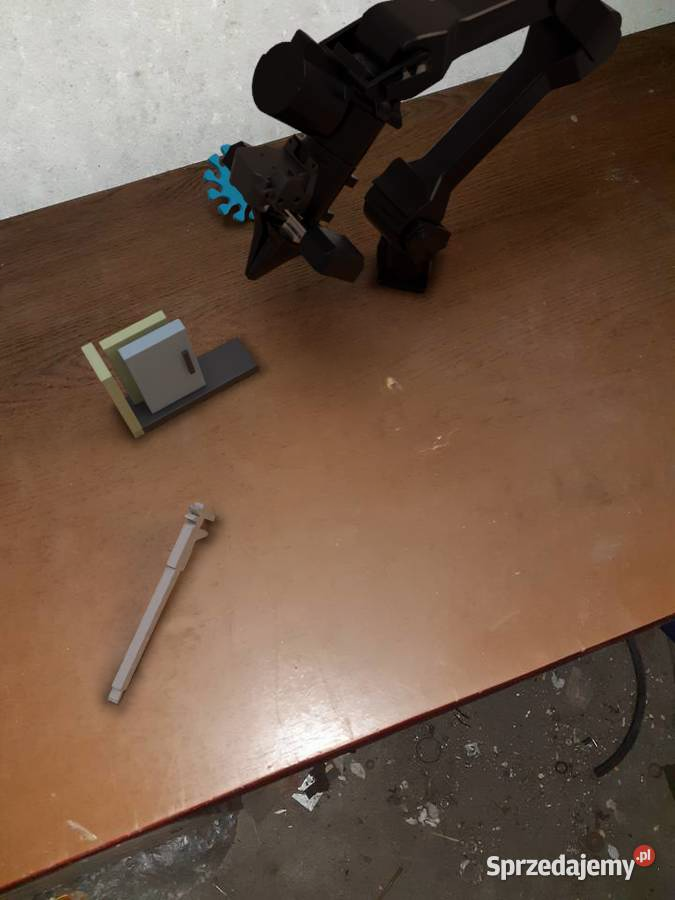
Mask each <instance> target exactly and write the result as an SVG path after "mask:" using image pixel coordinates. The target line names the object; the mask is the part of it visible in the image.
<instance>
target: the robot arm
mask: <svg viewBox="0 0 675 900" xmlns="http://www.w3.org/2000/svg"><path fill="white" fill-rule="evenodd" d="M622 25H623V17H622V14H621V12H620V11H618V10H616V9H615V8H613V7H612V6H611V5H609V4H608V3H606V2H605V1H603V0H383V1H380V2H377V3H375V4H373V5H371V6H370V7H369V8H367V9H366V10H365V11H364V12H363V13H362V16H360V17H359V18H357V19H355V20H353V21H352V22H350V23H348V24H347V25H346V26H344V27H342V28H340V29H338V30H337V31H335V32H334V33H332V34H330V35H329V36H327V37H325V38H323V39H322V40H320V41H319V42H317V41H316V40H315V39H313V37H311V36H310V35H309V34H308V33H307V32H305V31H304V30H302V29H301V28H299V29H297V30H295V32H294V35H293V36H292V38H291V39H290V41H289V40H287V41H281V42H278V43H275V44H273V46H271V47H270V48H269V49H268V50H267V51H266V53H262V55H260V58H259V59H258V60H257V63H256V65H255V67H254V71H253V75H252V78H251V97H252V101H253V103H254V105H255V106H256V108H257V110H258V111H260V112H261V113H263V114H264V115H266V116H267V117H268V116H269V117H271V118H273V119H275V120H277V121H279V122H280V123H282V124H284V125H286V126H288V127H290V128H292V129H294V130H296V131H298V132H300V133H301V134H304V135H303V137H302V136H300V135H298V134H296V133H293V135H292V136H290V137H289V138H288V139H287V141H286V142H285V144H284V145H283V146H282V147H281V148H276V147H273V146H255V145H253V144H250V143H248V142H245V141H244V140H239V141H237V142H235V143H233V144H230V145H231V146H230V147H229V149H228V151H227V153H226V154H225V156H223V158H222V159H221V163H222V164H223V165H225V166H226V167H227V168H228V170H229V171H230V172H231V173H230V177H229V183H230V184H231V185H232V186H233V187H234V186H235V188H236V189H237V190H238V191H239V192H240V194H241V195H242V196H243V200H244V201H245V202H246V203H247V204H248V205H249V206H250V209H251V210H252V213H253V216H254V219H255V220H254V224H253V225H254V226H253V234H252V239H251V243H250V248H249V253H248V256H247V261H246V266H245V270H244V276H245V277H246V278H247V280H248V281H253V282H255V281H258V280H259V279H261V278H262V277H264V276H265V275H267V274H270V273H271V272H272V271H274V270H275V269H278V268H279V267H281V266H283V265H284V264H286V263H288V262H290V261H291V260H294V259H296V258H298V257H300V256H301V257H302V258H303V259H304V260H305V261H306V263H308V265H309V266H310V267H311V268H312V270H313V271H315V272H316V273H318V274H319V275H320V276H323V277H324V276H325V277H328V278H331V279H334V280H335V279H336V280H339V281H343V282H347V283H351V284H354V283H355V282H356V281H357V280H358V278H359V276H360V275H361V274H362V273H363V271H364V268H365V255H364V254H363V253H362V252H361V251H360V250H359V249H358V248H357V247H356V246H355V245H354V244H353V242H351V240H350V239H349V238H348V237H347V236H346V235H344V234H343V233H340V232H336V231H333V230H331V229H328V228H325V227H323V226H322V225H321V223H320V222H321V221H322V222H324V223H327V224H331V221H332V220H333V219H334V217H335V213H334V212H333V211H332V210H331V209H330V208H331V206H333V204H334V202H335V201H336V199H337V198H338V196H339V195H340V193H341V192H342V191H343V190H344V189H343V188H344V187H348V188H350V189H354V188H355V187H356V184H357V183H358V182H359V179H358V178H357V176H355V175H354V173H355V171H356V170H357V168H358V166H359V165H360V163H361V162H362V160H363V159H364V158H365V156H366V154H367V152H369V150H370V149H371V147H372V145H373V144H374V142H375V141H376V139H377V138H378V136H379V135H380V134H381V132H382V130H384V127H385V126H386V124H387V125H389V126H390V127H392V128H394V129H396V130H400V129H402V127H403V116H402V111H401V104H402V102H405V101H409V100H412V99H415V98H416V97H417V96H419V95H420V94H422V93H424V92H425V91H426V90H428V89H429V88H431V87H433V86H434V85H436V84H437V83H439V82H441V81H442V80H443V79H444V78H445V76H446V74H447V72H448V71H449V69H450V67H451V65H452V64H453V62H454V61H455V60H457V59H459V58H460V57H462V56H464V55H466V54H469V53H471V52H474V51H475V50H478V49H480V48H483V47H485V46H486V45H489V44H491V43H493V42H496V41H499V40H500V39H502V38H505V37H507V36H509V35H511V34H514V33H516V32H518V31H520V30H523V29H525V28H528V29H527V32H526V36H525V39H524V43H523V47H522V48H521V49H522V50H521V53H520V54H519V55H518V56H517V57H516V59H515V60H514V61H513V62H511V64H510V65H509V66H508V67H507V68H506V69H505V70H504V71H503V72H502V73H501V74H500V75H499V76H498V78H496V79H495V81H494V82H493V83H491V85H490V86H489V87H488V88H487V89H486V90H485V91H484V92H483V93H482V94H481V95H480V96H479V97H478V98H477V100H475V101H474V103H473V104H472V105H470V107H469V108H468V109H467V110H466V111H465V112H464V113H463V114H462V115H461V116H460V117H459V118H458V119H457V120H456V121H455V122H454V123H453V125H451V126H450V127H449V128H448V130H447V131H445V133H443V135H442V136H441V137H440V138H439V139H438V140H437V141H436V142H435V144H433V145H432V147H430V148H429V150H428V151H426V153H425V154H424V155H423V156H421V157H420V158H415V159H413V160H409V161H406V160H404V159H403V158H402V156H398V157H396V158H394V159H393V160H392V161H391V162H390V163H389V165H388V166H387V167H386V168H385V169H384V171H382V173H381V174H379V175H378V176H376V177H375V178H374V179H373V180H371V184H372V185H371V186H370V187H369V188H368V190H367V191H366V193H365V195H364V197H363V200H364V203H363V207H362V211H363V215H364V218H365V219H366V220H367V221H368V222H369V223H370V224H371V225H372V226H373V227H374V228H375V229H376V230H377V231H378V233H380V236H379V238H378V241H377V244H376V262H375V263H376V268H377V269H378V272H377V275H376V283H377V284H379V285H385V286H388V287H393V288H398V289H404V290H407V291H408V290H409V291H413V292H418V293H426V292H427V290H428V286H429V283H430V279H431V276H432V273H433V270H434V266H435V263H436V259H437V254H439V252H440V251H442V250H444V249H445V248H447V245H448V244H449V241H450V239H451V237H452V232H451V231H450V230H449V229H448V228H447V227H446V226H445V225H444V224H443V223H442V221H443V220H444V218H445V215H446V211H447V208H448V205H449V202H450V197H451V194H452V192H453V191H454V189H456V188H457V186H458V185H459V184H460V183H462V181H463V180H465V178H466V177H467V176H468V175H469V174H470V173H471V172H472V171H474V169H475V168H476V167H477V166H478V165H479V164H480V163H481V162H482V161H483V160H484V159H485V158H486V157H487V156H488V155H489V154H490V153H491V152H492V151H493V150H494V149H495V148H496V147H497V146H498V145H499V144H500V143H501V142H502V141H503V139H505V137H506V136H508V134H509V133H511V131H512V130H513V129H514V128H515V127H516V126H517V125H518V124H519V123H520V122H521V121H522V120H523V119H524V118H525V117H526V116H527V115H528V114H529V113H530V112H531V111H532V110H533V109H534V108H535V107H536V106H537V105H538V104H539V103H540V102H542V100H543V99H544V98H545V97H546V96H547V95H548V94H549V93H550V92H551V91H554V90H559V89H561V88H565V87H567V86H570V85H573V84H574V85H575V84H576V83H579V82H582V81H583V80H584V79H585V78H586V77H587V76H589V75H590V74H591V73H592V72H593V71H595V70H596V69H597V68H598V67H599V66H600V65H602V64H603V63H605V62H606V61H608V60H609V59H610V57H612V55H613V54H614V53H615V52H616V50H617V49H618V47H619V45H620V43H621V40H622V36H623V33H622V29H621V28H622ZM248 205H247V206H248ZM251 210H250V211H251Z"/></svg>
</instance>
